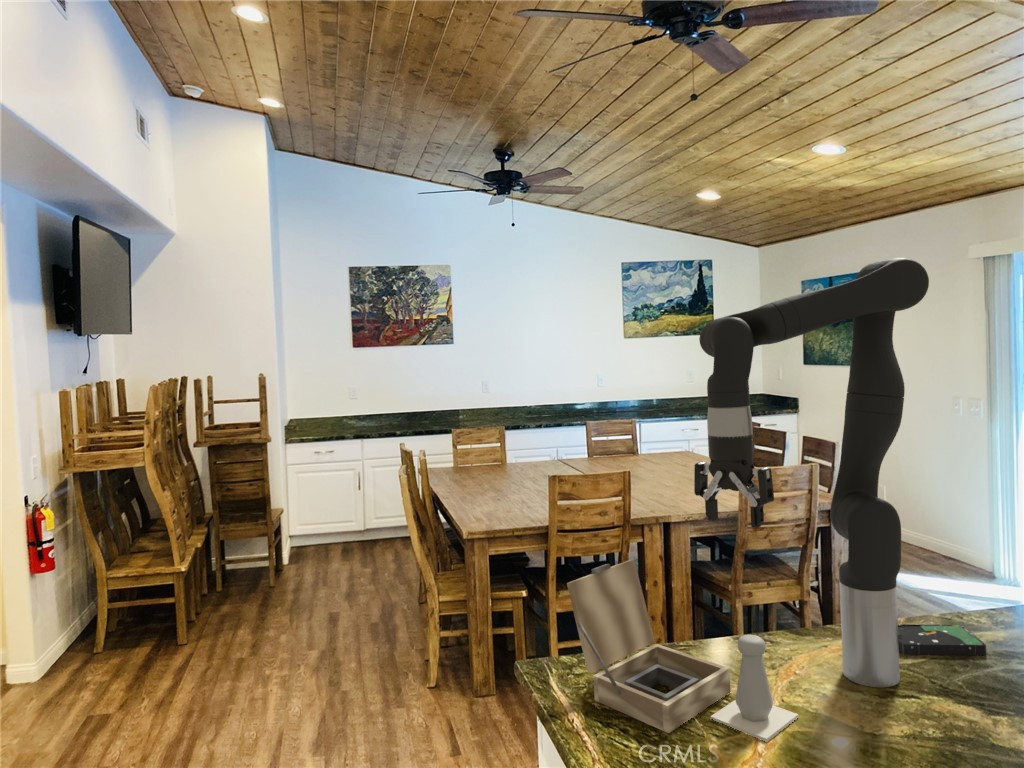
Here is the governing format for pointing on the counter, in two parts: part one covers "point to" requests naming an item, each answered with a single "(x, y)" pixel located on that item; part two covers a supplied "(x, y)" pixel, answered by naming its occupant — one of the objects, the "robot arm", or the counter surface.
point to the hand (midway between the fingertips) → (734, 523)
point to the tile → (758, 729)
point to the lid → (610, 613)
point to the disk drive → (938, 641)
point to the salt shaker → (753, 680)
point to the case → (659, 664)
